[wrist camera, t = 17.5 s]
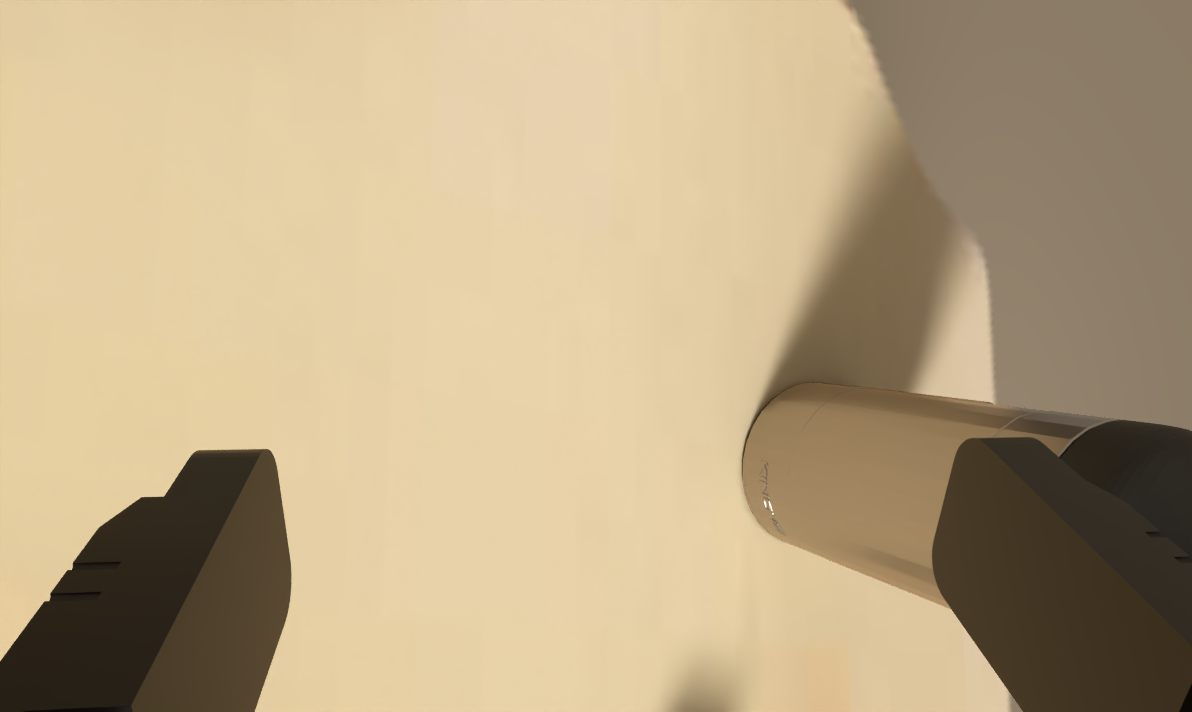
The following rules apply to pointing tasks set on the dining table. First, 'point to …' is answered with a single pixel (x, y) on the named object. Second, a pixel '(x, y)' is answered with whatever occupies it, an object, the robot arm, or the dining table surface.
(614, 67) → the dining table surface
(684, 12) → the dining table surface
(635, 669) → the dining table surface
